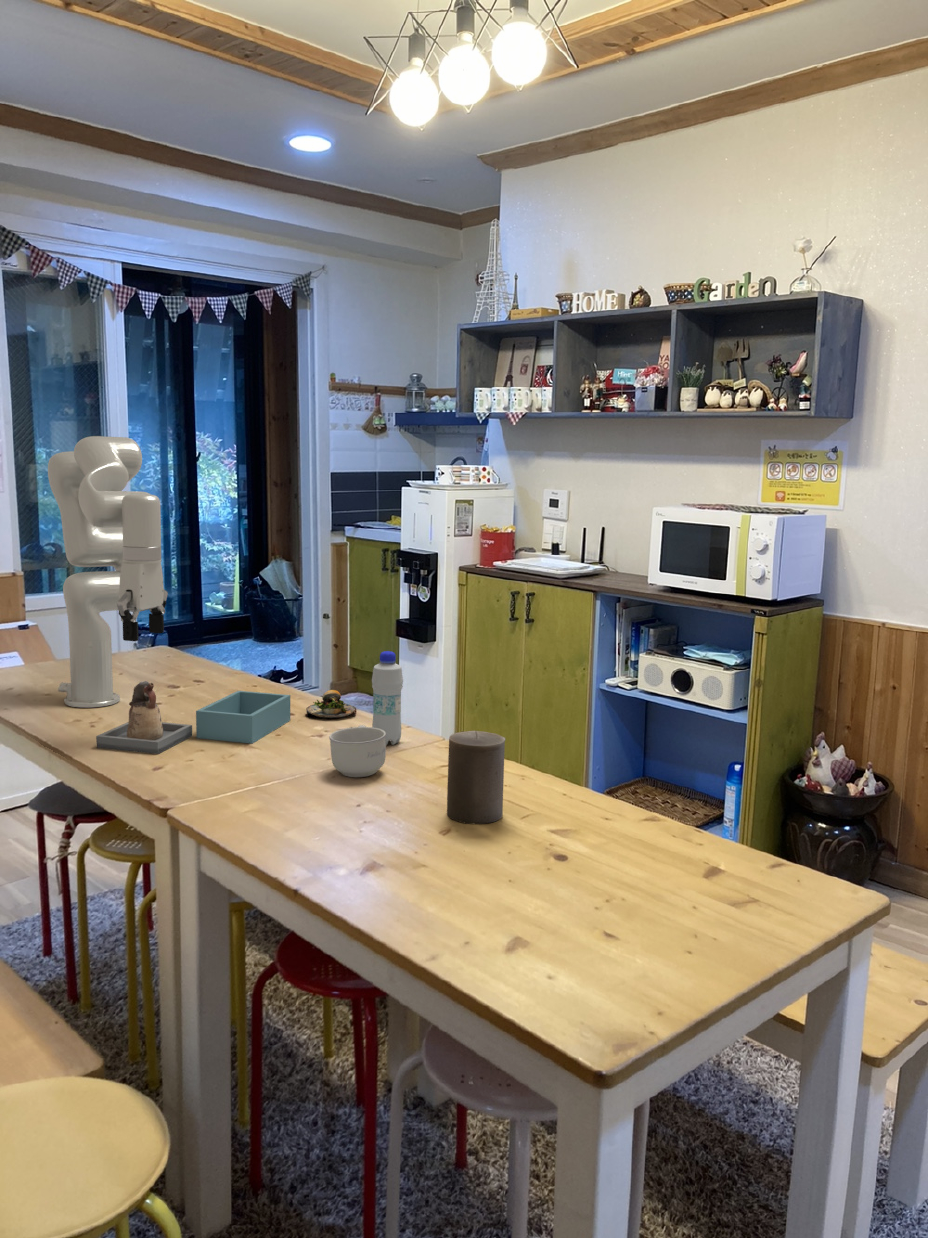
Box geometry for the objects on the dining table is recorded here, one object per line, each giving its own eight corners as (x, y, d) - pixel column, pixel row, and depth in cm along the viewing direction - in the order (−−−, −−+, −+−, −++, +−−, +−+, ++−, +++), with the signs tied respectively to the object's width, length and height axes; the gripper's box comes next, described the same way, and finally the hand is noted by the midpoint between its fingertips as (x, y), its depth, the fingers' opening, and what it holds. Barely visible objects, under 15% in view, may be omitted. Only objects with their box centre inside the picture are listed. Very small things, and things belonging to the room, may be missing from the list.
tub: (196, 738, 213) (195, 710, 212) (238, 715, 232) (238, 690, 231) (252, 743, 210) (252, 716, 209) (290, 720, 229) (290, 695, 228)
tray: (96, 747, 204) (96, 736, 204) (134, 730, 217) (133, 719, 217) (158, 754, 201) (157, 742, 200) (192, 736, 214) (192, 725, 214)
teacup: (376, 784, 186) (376, 742, 185) (321, 778, 189) (321, 738, 187) (396, 762, 200) (396, 723, 199) (344, 758, 202) (344, 719, 201)
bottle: (400, 747, 210) (402, 654, 207) (369, 746, 210) (370, 653, 207) (403, 738, 217) (404, 648, 214) (372, 737, 217) (373, 647, 214)
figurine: (150, 730, 214) (149, 676, 212) (169, 737, 210) (168, 681, 208) (120, 737, 209) (119, 681, 207) (140, 743, 204) (138, 686, 202)
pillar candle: (455, 826, 166) (457, 739, 163) (440, 806, 175) (442, 724, 173) (510, 822, 168) (513, 737, 166) (493, 803, 178) (496, 722, 175)
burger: (298, 719, 231) (298, 688, 230) (317, 707, 243) (317, 677, 241) (346, 724, 229) (346, 692, 227) (363, 711, 240) (363, 681, 239)
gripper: (148, 550, 213) (150, 628, 216) (101, 557, 196) (103, 642, 199) (180, 552, 211) (181, 631, 214) (135, 559, 195) (136, 645, 198)
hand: (143, 636), depth 207 cm, fingers open, 9 cm apart
